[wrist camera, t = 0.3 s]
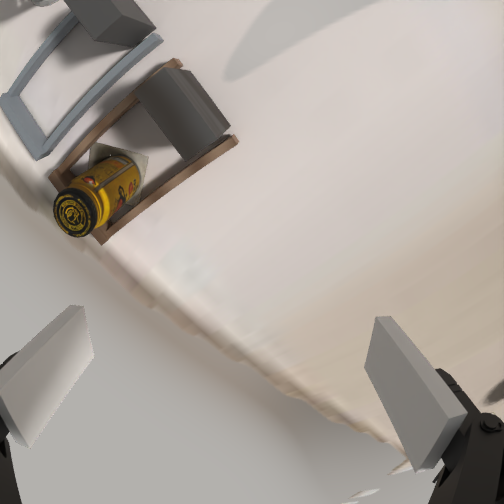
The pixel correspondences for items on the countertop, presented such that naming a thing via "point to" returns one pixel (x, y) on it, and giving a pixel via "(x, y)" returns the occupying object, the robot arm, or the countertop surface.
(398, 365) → the robot arm
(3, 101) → the grey frame
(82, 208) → the condiment
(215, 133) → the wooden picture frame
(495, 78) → the countertop surface
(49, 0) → the french press
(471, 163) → the countertop surface
